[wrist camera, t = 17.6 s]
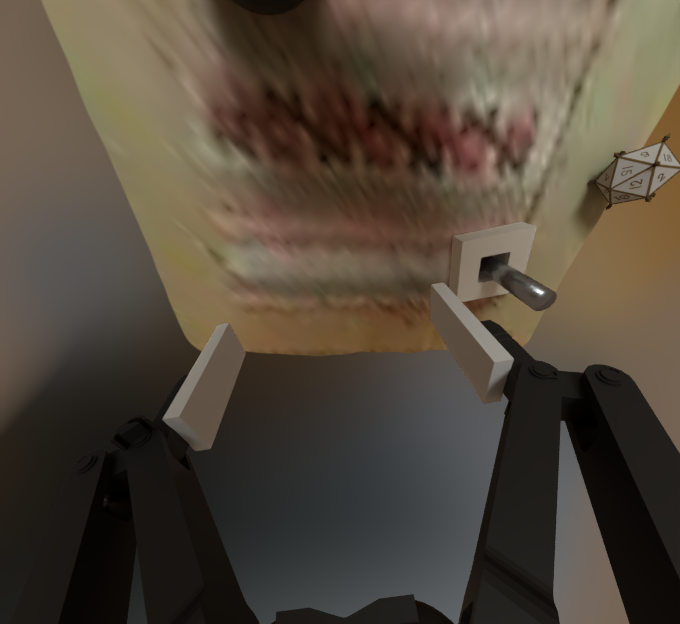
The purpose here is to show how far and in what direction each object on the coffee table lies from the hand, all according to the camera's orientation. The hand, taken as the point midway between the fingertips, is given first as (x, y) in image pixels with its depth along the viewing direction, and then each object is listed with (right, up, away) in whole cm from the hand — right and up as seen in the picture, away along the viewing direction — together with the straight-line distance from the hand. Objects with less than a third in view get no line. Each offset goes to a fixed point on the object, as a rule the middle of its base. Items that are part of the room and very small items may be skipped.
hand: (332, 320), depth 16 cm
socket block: (+27, +10, +30) cm, 41 cm away
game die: (+43, +23, +23) cm, 54 cm away
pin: (+27, +10, +29) cm, 41 cm away
